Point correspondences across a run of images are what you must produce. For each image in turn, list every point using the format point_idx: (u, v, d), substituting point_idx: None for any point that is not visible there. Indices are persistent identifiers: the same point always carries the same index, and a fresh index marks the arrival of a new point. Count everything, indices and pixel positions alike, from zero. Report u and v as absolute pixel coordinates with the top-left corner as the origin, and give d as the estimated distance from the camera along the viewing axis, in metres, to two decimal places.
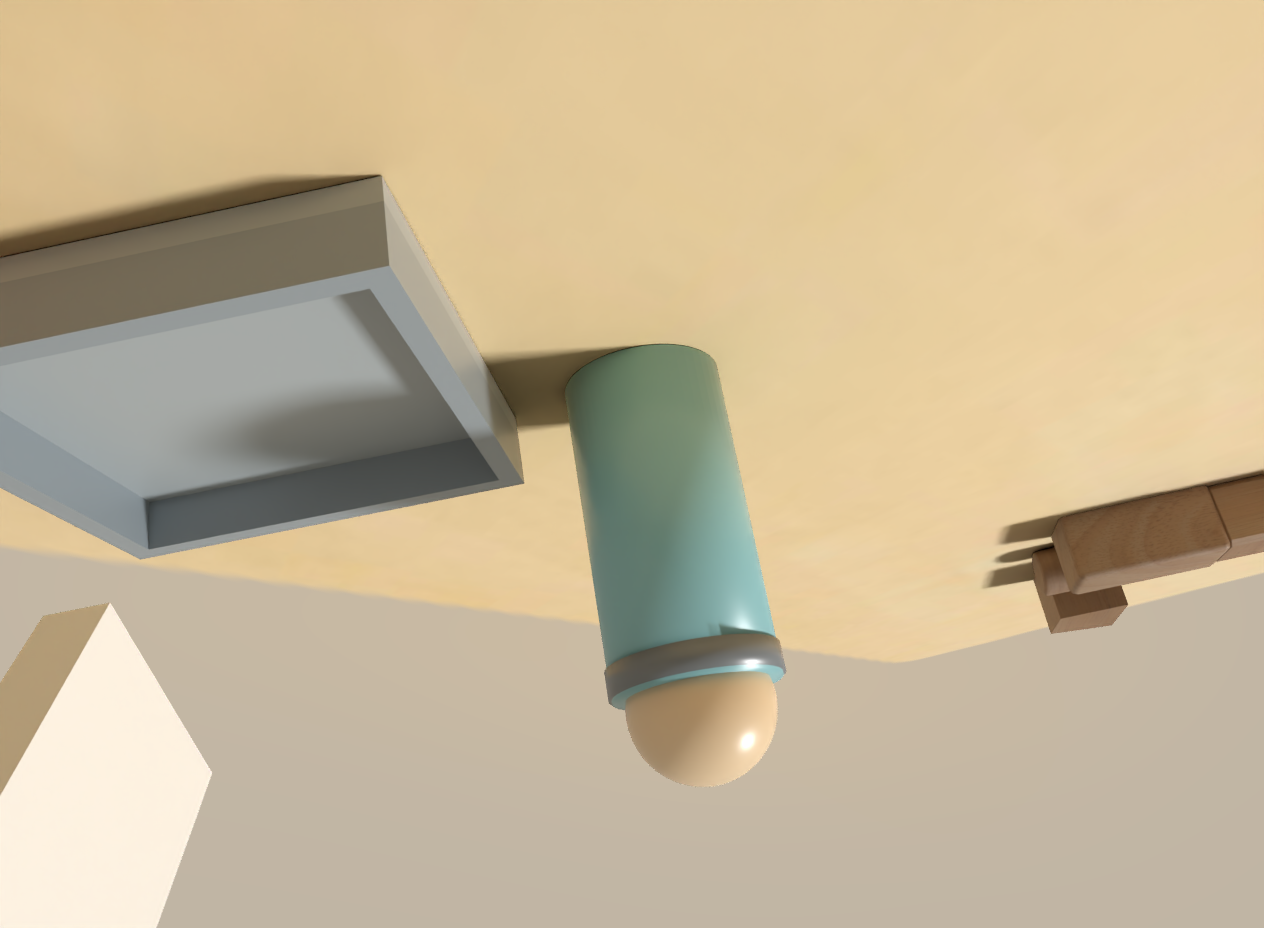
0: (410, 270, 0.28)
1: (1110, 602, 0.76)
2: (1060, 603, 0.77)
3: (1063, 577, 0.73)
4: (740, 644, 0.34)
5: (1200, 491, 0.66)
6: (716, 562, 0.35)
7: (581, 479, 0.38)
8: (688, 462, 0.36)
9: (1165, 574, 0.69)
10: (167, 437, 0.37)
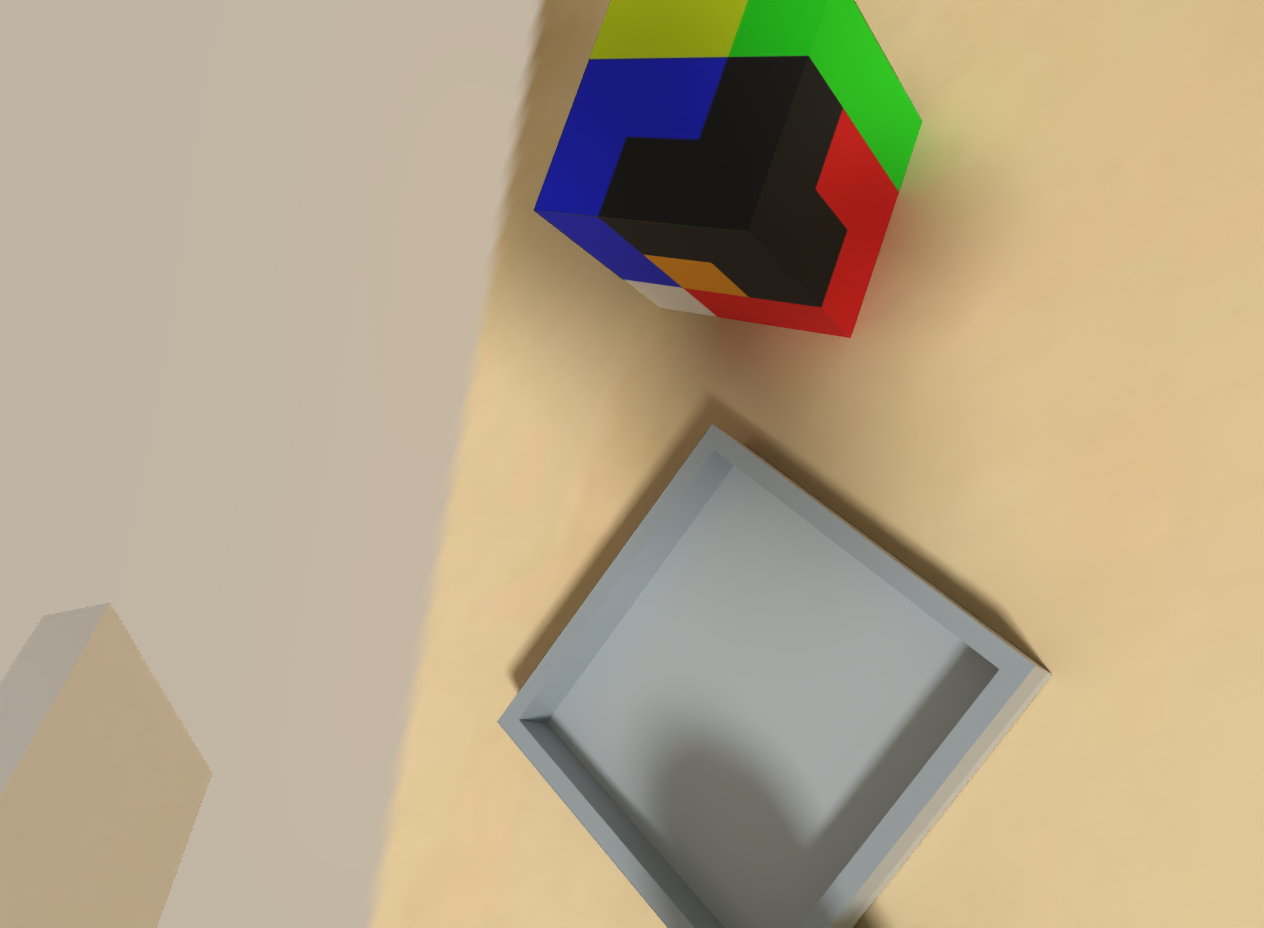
0: (1006, 714, 0.35)
1: None
2: None
3: None
4: None
5: None
6: None
7: None
8: None
9: None
10: (661, 687, 0.43)
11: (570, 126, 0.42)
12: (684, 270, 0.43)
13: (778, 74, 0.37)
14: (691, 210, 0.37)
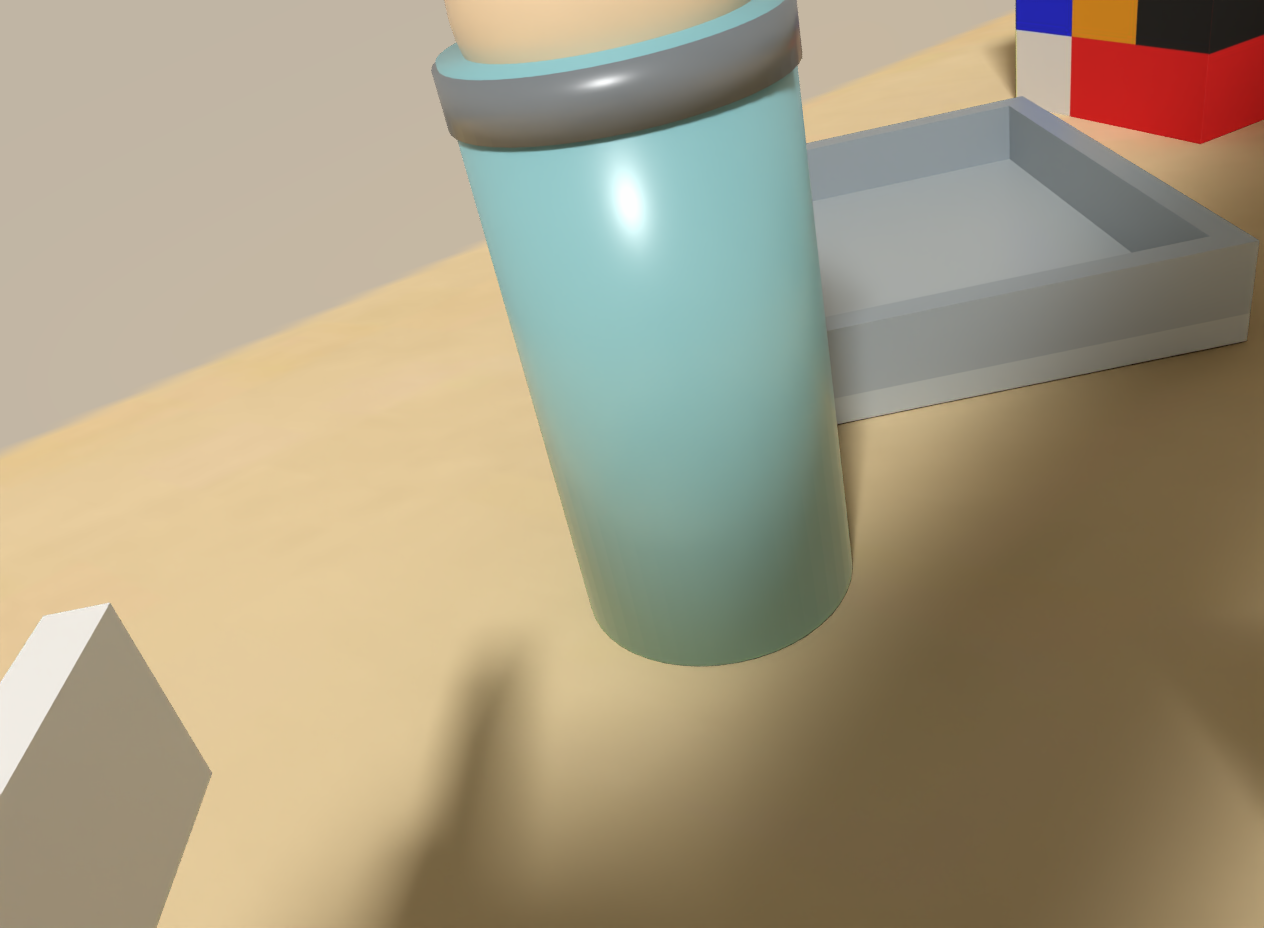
0: (1177, 296, 0.27)
1: None
2: None
3: None
4: (783, 51, 0.16)
5: None
6: (803, 219, 0.18)
7: None
8: (828, 394, 0.20)
9: None
10: None
11: None
12: None
13: None
14: None
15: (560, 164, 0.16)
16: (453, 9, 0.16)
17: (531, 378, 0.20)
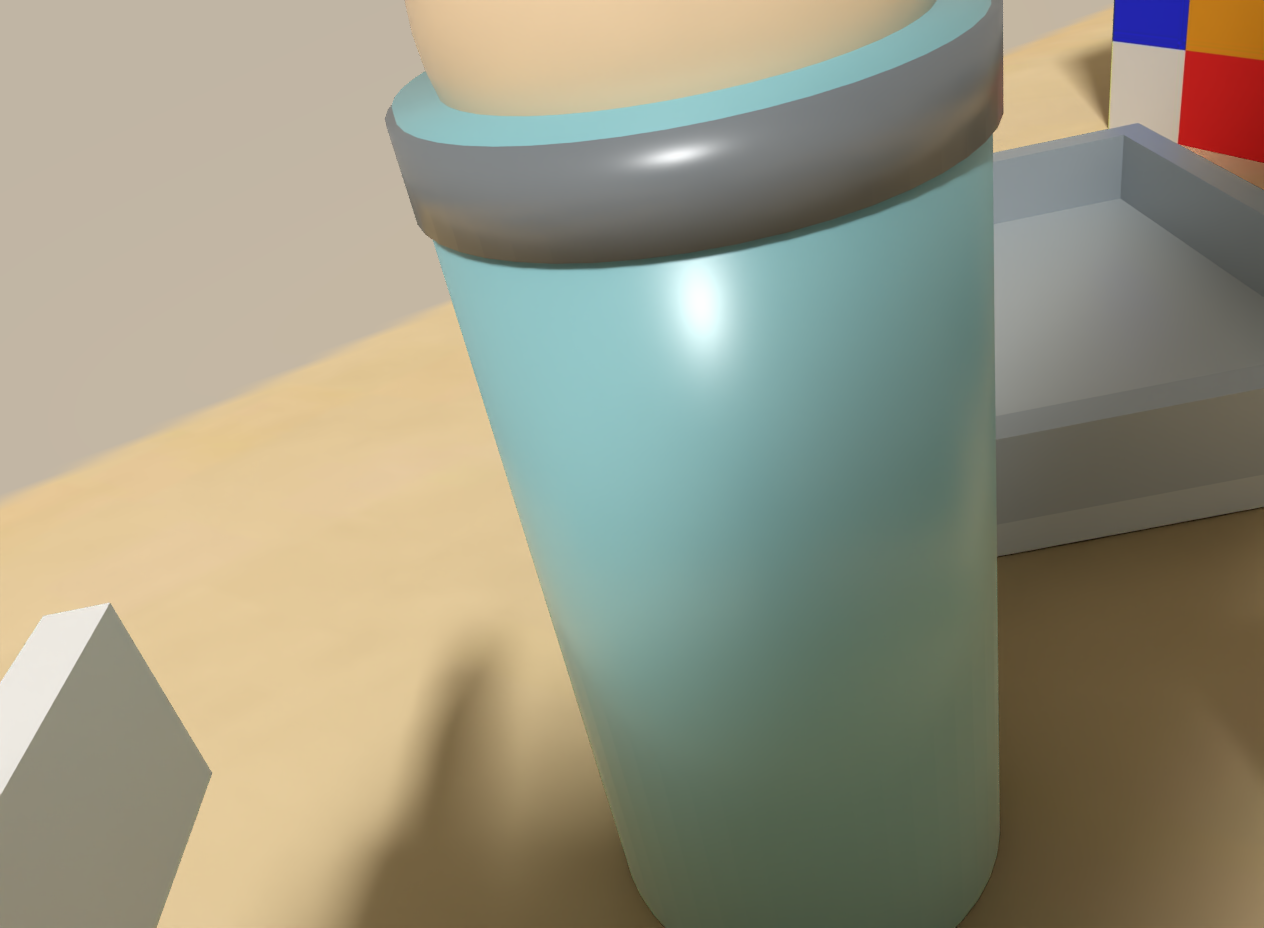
0: None
1: None
2: None
3: None
4: (990, 95, 0.09)
5: None
6: (990, 360, 0.11)
7: None
8: (996, 602, 0.13)
9: None
10: None
11: None
12: None
13: None
14: None
15: (604, 293, 0.09)
16: (418, 18, 0.09)
17: (545, 584, 0.13)
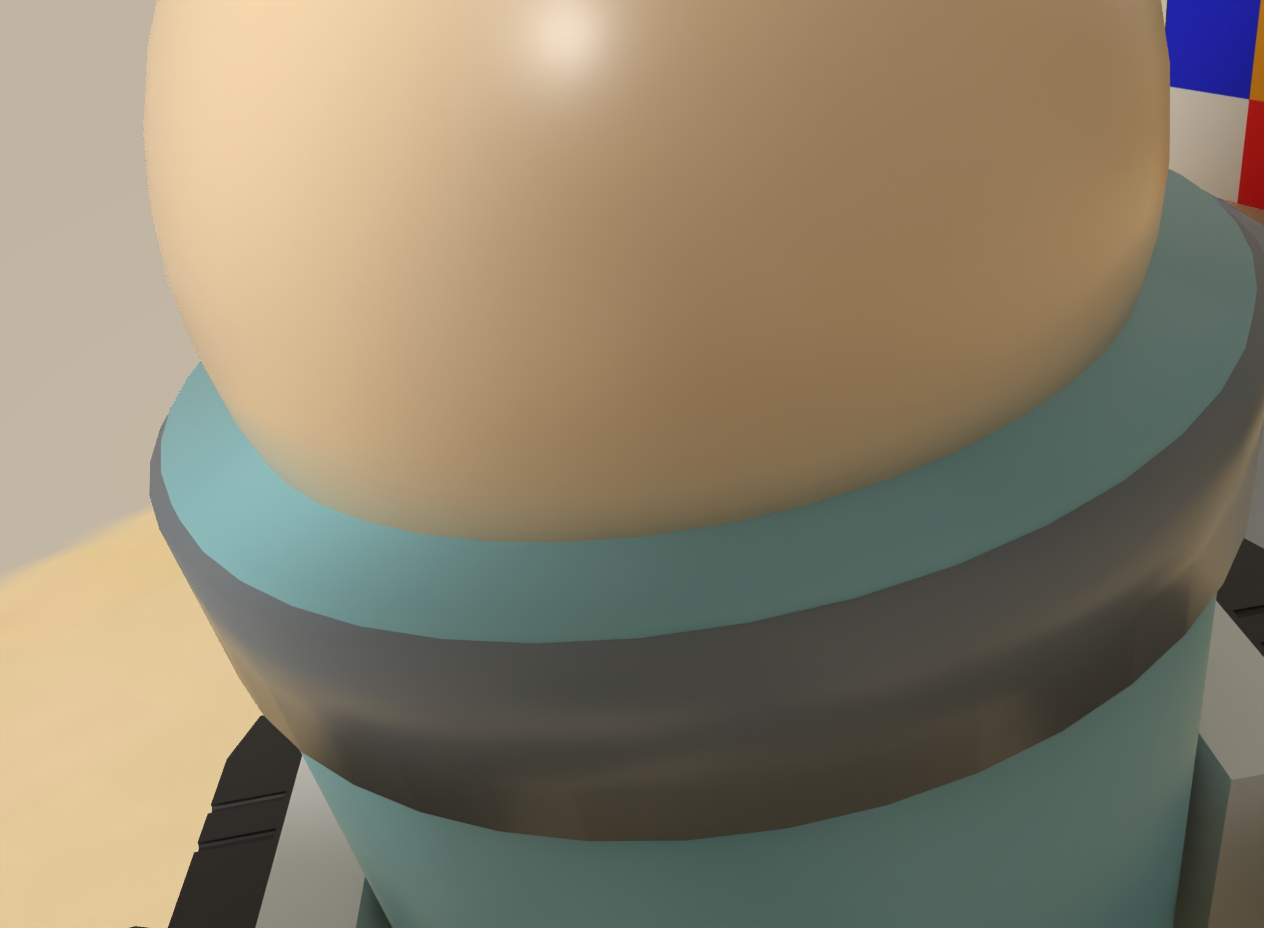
0: None
1: None
2: None
3: None
4: None
5: None
6: None
7: None
8: None
9: None
10: None
11: None
12: None
13: None
14: None
15: (522, 860, 0.05)
16: None
17: None
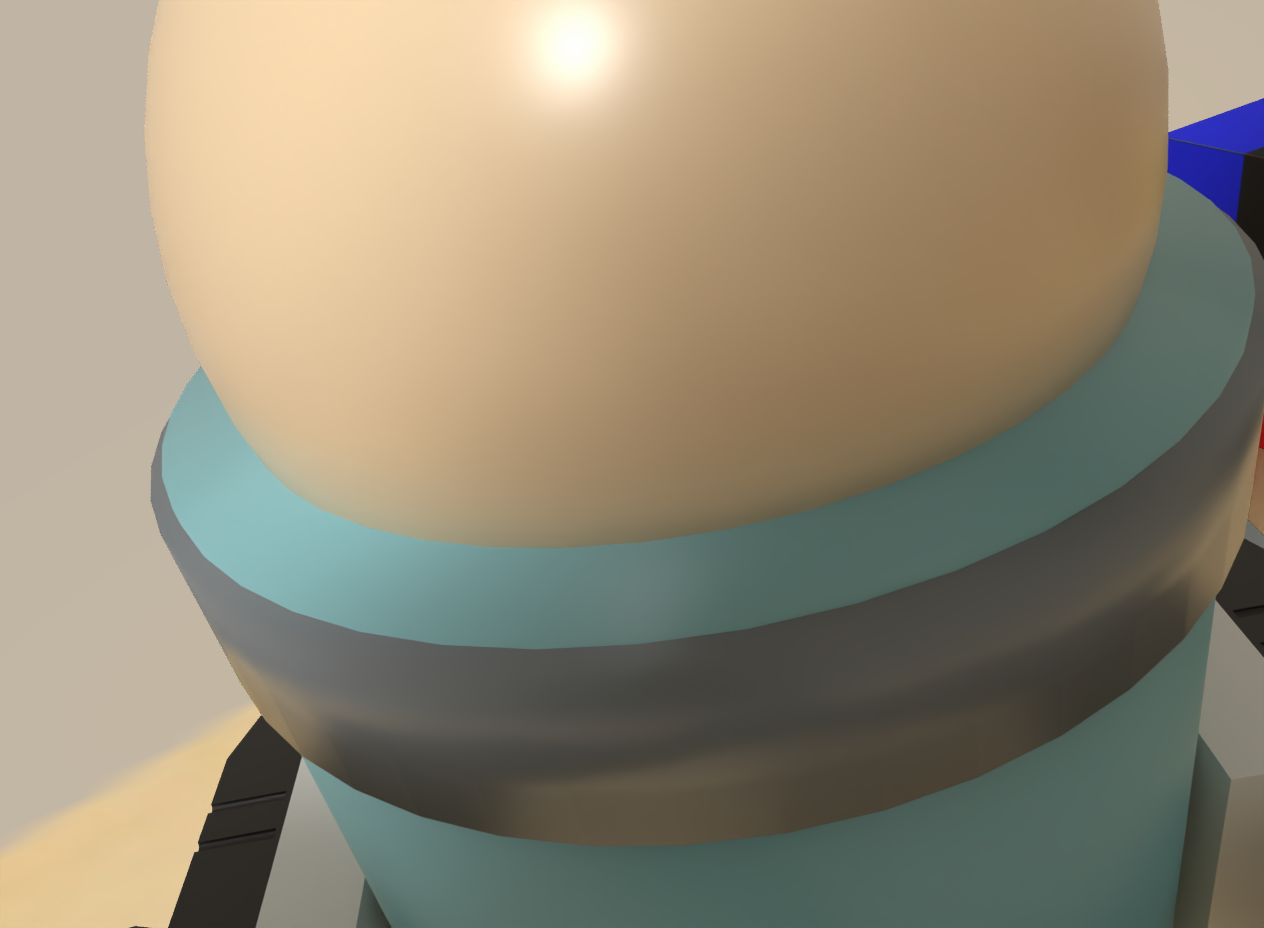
0: None
1: None
2: None
3: None
4: None
5: None
6: (1187, 807, 0.07)
7: None
8: None
9: None
10: None
11: (1249, 107, 0.36)
12: None
13: None
14: None
15: (522, 866, 0.05)
16: (177, 309, 0.05)
17: None
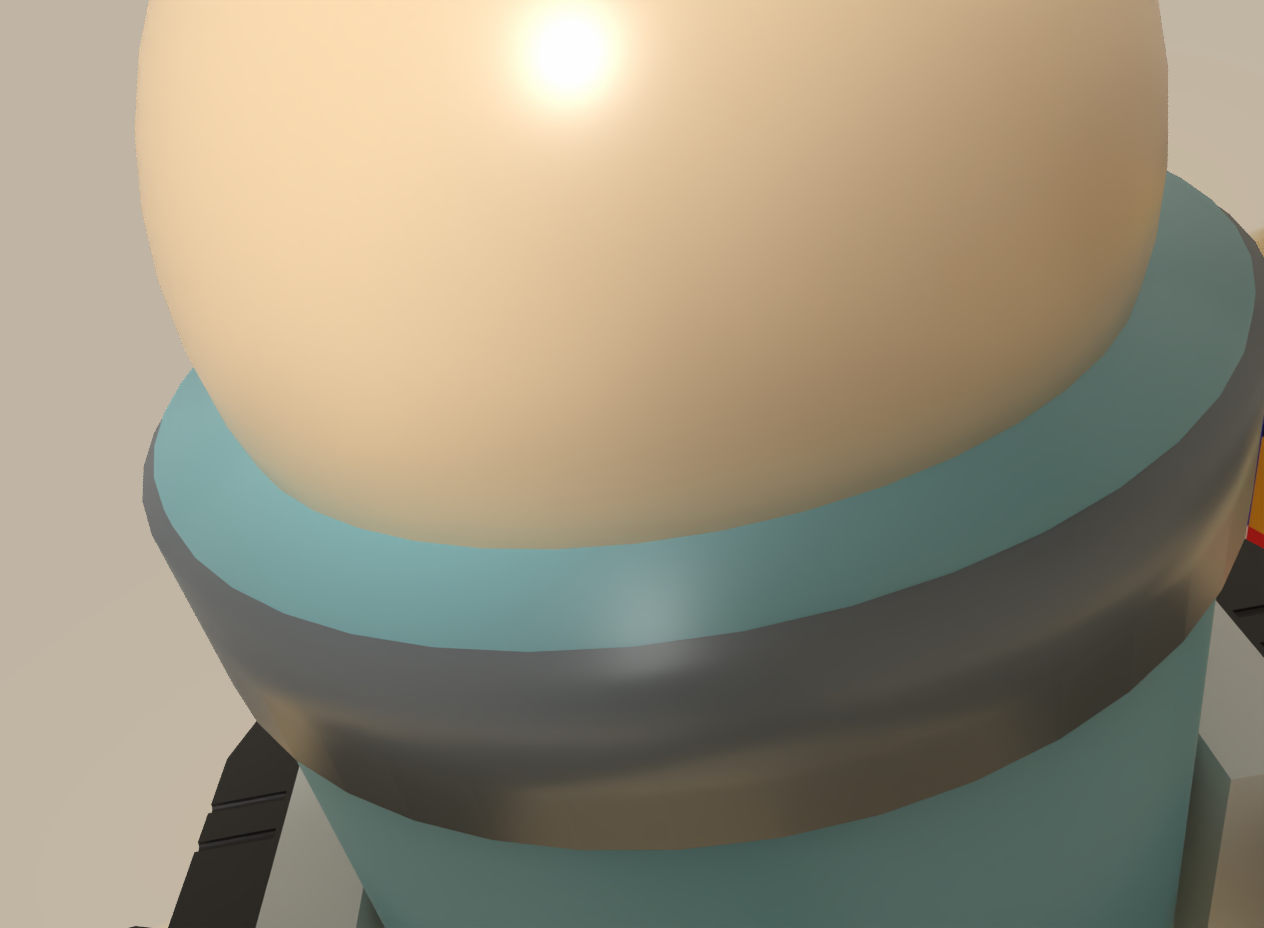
0: None
1: None
2: None
3: None
4: None
5: None
6: None
7: None
8: None
9: None
10: None
11: None
12: None
13: None
14: None
15: (515, 866, 0.05)
16: None
17: None
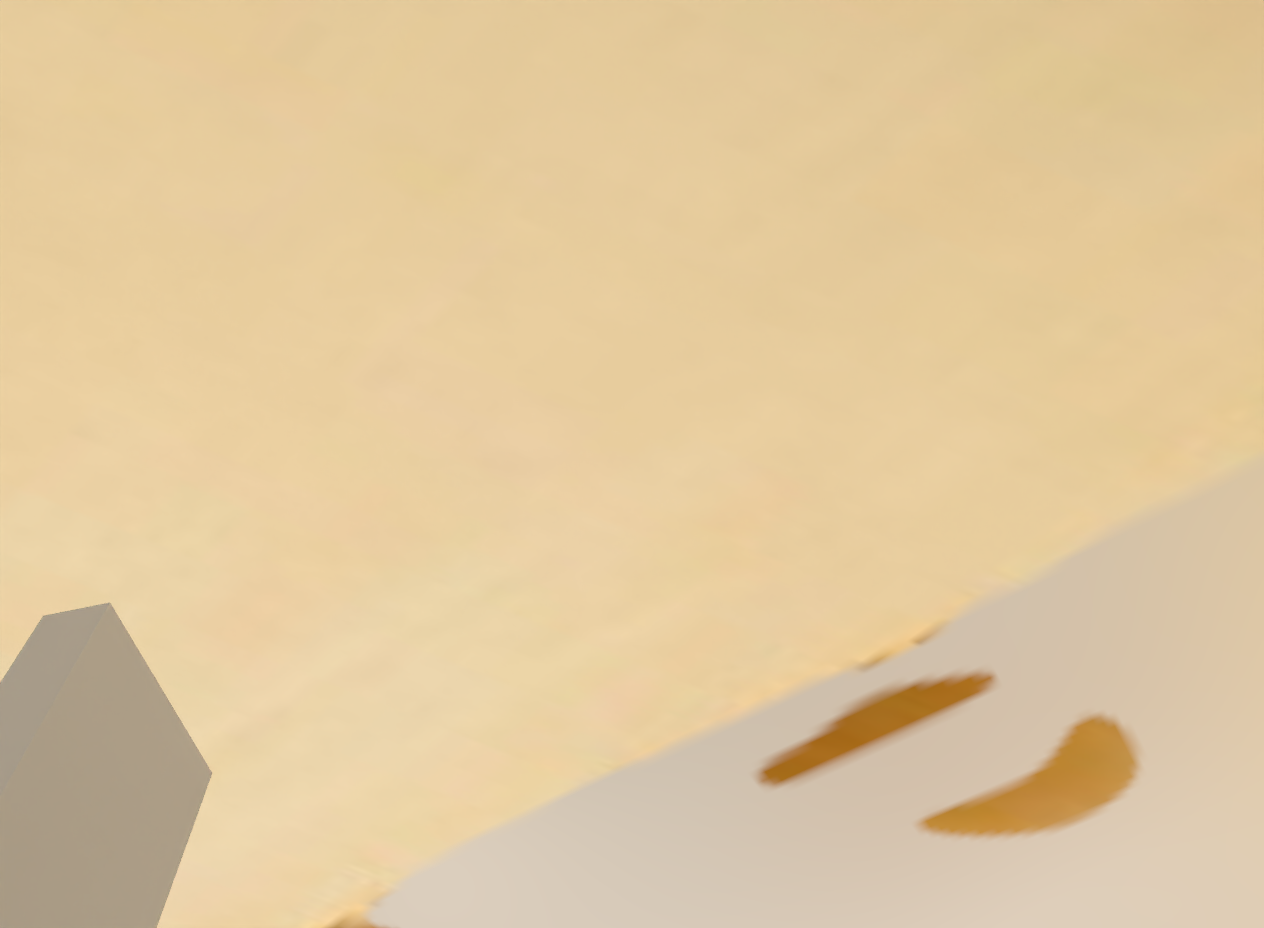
0: None
1: None
2: None
3: None
4: None
5: None
6: None
7: None
8: None
9: None
10: None
11: None
12: None
13: None
14: None
15: None
16: None
17: None
